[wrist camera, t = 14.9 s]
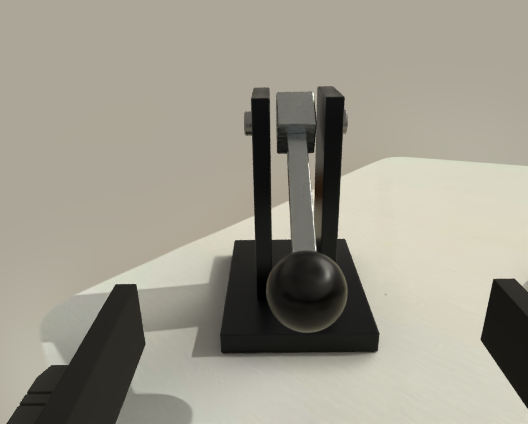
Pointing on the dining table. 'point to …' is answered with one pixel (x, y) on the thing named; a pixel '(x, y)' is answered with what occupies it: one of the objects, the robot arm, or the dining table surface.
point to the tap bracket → (272, 251)
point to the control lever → (302, 230)
